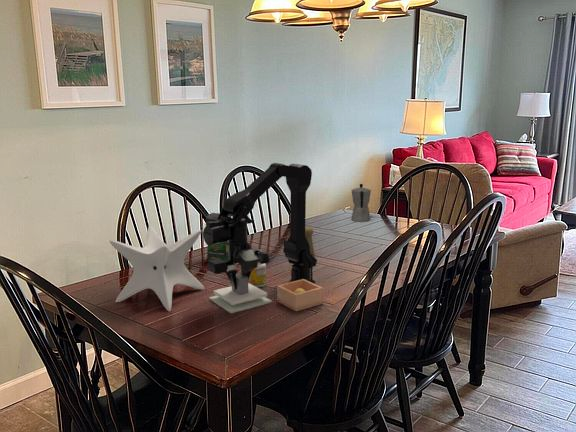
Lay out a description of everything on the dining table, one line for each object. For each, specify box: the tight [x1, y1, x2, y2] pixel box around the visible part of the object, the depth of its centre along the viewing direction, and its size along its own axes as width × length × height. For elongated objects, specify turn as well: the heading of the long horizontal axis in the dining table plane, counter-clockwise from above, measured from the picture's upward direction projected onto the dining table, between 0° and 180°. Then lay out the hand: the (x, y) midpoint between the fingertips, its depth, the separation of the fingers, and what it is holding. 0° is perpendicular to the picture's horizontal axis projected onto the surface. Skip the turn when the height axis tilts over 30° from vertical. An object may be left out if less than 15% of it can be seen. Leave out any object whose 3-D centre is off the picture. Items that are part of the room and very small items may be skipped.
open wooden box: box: [276, 279, 324, 312], centre depth 165 cm, size 10×10×5 cm
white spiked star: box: [108, 225, 205, 312], centre depth 171 cm, size 20×20×20 cm
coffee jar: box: [205, 212, 232, 262], centre depth 206 cm, size 10×8×19 cm
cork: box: [305, 226, 315, 256], centre depth 213 cm, size 6×6×11 cm
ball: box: [294, 288, 305, 294], centre depth 165 cm, size 4×4×4 cm
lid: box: [213, 272, 268, 305], centre depth 167 cm, size 12×12×6 cm
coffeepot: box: [351, 183, 372, 223], centre depth 267 cm, size 15×9×18 cm, turn 175°
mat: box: [208, 295, 273, 314], centre depth 168 cm, size 14×14×1 cm
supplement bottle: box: [249, 262, 267, 288], centre depth 181 cm, size 5×5×10 cm
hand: (239, 288), depth 167 cm, fingers closed on lid, 3 cm apart
